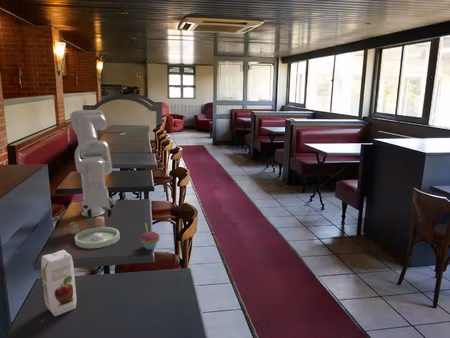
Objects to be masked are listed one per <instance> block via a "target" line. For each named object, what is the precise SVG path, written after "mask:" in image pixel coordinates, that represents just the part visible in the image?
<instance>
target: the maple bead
mask: <svg viewBox="0 0 450 338" xmlns="http://www.w3.org/2000/svg"><path fill="white" fill-rule="evenodd" d="M79 232H80V224H79V222H77V221H74V222H73V221H72V222H70V223H69V234H70V235H71V236H74V235H75V236H76V234H77V233H79Z"/></svg>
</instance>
